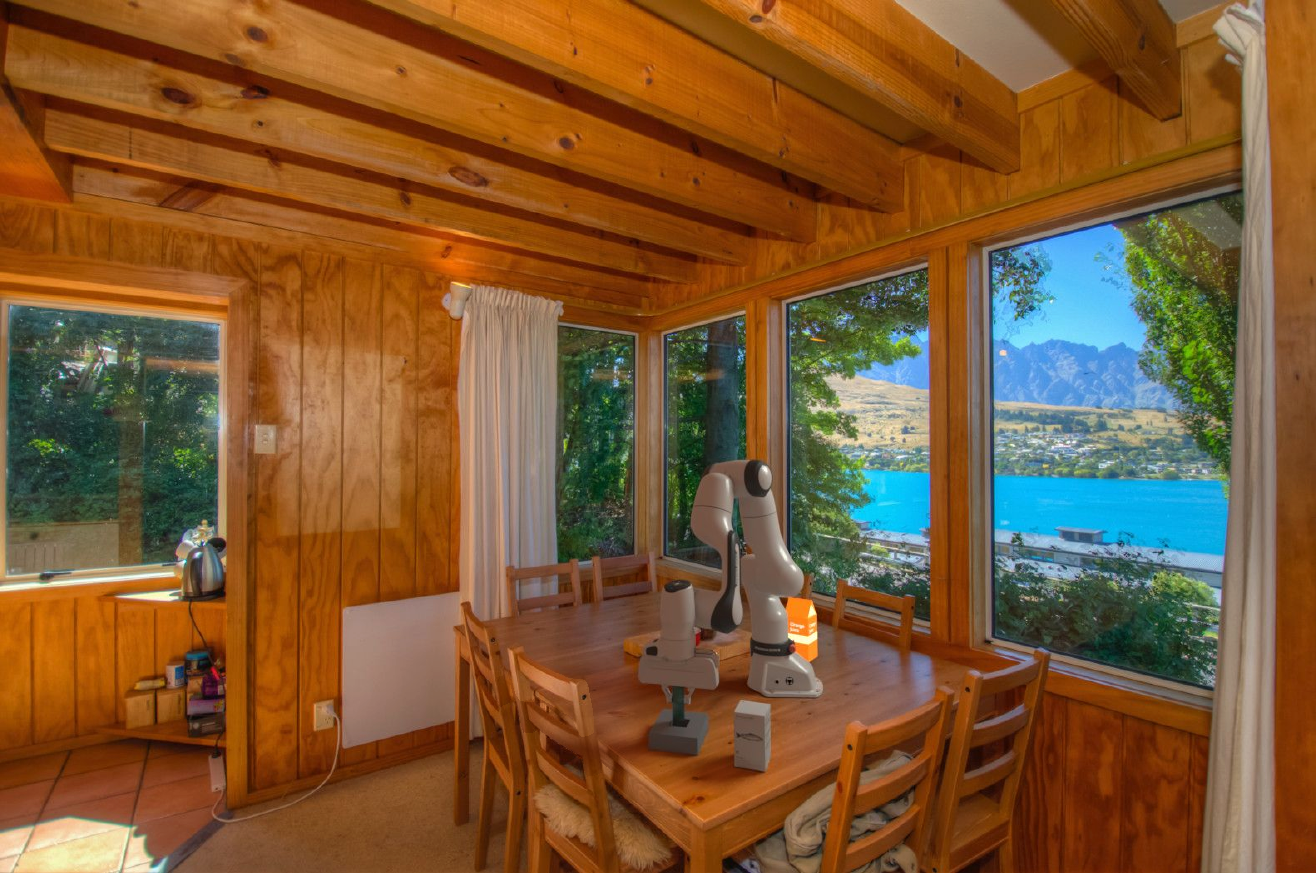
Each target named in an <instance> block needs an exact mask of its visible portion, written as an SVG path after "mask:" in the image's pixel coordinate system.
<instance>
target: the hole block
mask: <svg viewBox="0 0 1316 873" xmlns="http://www.w3.org/2000/svg"><path fill="white" fill-rule="evenodd" d="M709 719H710V718H709V713H708V712H701V711H700V712H699V711H691V710H689V711H687V710H685V720H684V721H683V722H675V721H673V708H672V709H671V708H663V709H662V710H661V712H660V714H659V715H658V717H657V719H656V720H655V721H654V723H653V724H652V727H651V728H650V730H649V731H648V750H651V751H659V752H664V753H665V752H667V753H676V754H684V755H691V756H698V755H699V753H700V751H701V748H702V746H703V743H704V741H705V738H706V737H707V734H708V732H709V729H710V728H709V726H710V725H709V722H710V721H709Z"/></svg>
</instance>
